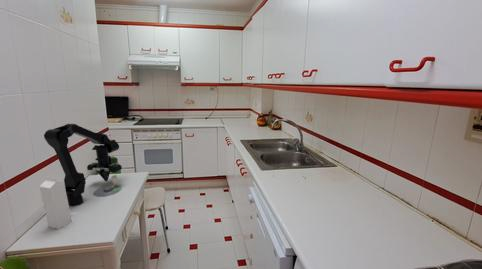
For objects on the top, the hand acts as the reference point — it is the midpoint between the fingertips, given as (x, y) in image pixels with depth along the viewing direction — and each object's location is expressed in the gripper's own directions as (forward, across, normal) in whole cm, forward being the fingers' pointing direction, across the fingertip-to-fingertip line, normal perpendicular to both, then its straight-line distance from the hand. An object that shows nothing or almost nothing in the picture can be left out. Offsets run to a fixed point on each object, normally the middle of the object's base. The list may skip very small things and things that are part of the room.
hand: (106, 181), depth 140 cm
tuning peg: (+2, -6, +3) cm, 7 cm away
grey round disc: (+4, -6, +6) cm, 9 cm away
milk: (+4, -8, +36) cm, 37 cm away
